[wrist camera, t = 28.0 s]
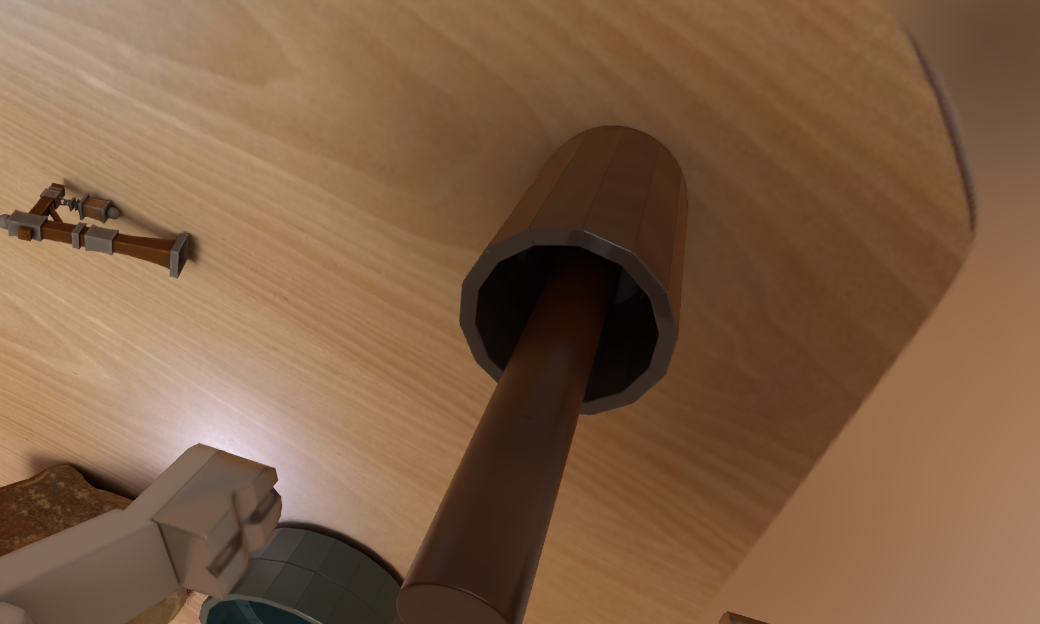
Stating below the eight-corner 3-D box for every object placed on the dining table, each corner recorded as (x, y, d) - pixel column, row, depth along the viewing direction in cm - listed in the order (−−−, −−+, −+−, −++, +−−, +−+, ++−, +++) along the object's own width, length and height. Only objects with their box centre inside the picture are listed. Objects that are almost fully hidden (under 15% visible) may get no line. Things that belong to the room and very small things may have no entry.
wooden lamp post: (32, 167, 31) (-16, 213, 27) (201, 208, 33) (177, 255, 30) (35, 196, 32) (-10, 245, 28) (200, 234, 34) (176, 282, 31)
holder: (706, 140, 22) (704, 256, 14) (665, 279, 26) (645, 438, 17) (552, 110, 23) (466, 203, 15) (532, 248, 27) (454, 385, 18)
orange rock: (54, 379, 44) (-221, 540, 32) (236, 514, 44) (32, 725, 32) (46, 513, 57) (-147, 661, 45) (184, 616, 58) (29, 789, 46)
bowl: (419, 557, 42) (380, 639, 37) (415, 658, 50) (383, 737, 45) (240, 499, 44) (181, 569, 39) (264, 604, 52) (217, 674, 47)
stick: (641, 185, 23) (524, 609, 8) (630, 231, 24) (508, 677, 10) (591, 174, 24) (394, 567, 9) (582, 220, 25) (394, 637, 10)
